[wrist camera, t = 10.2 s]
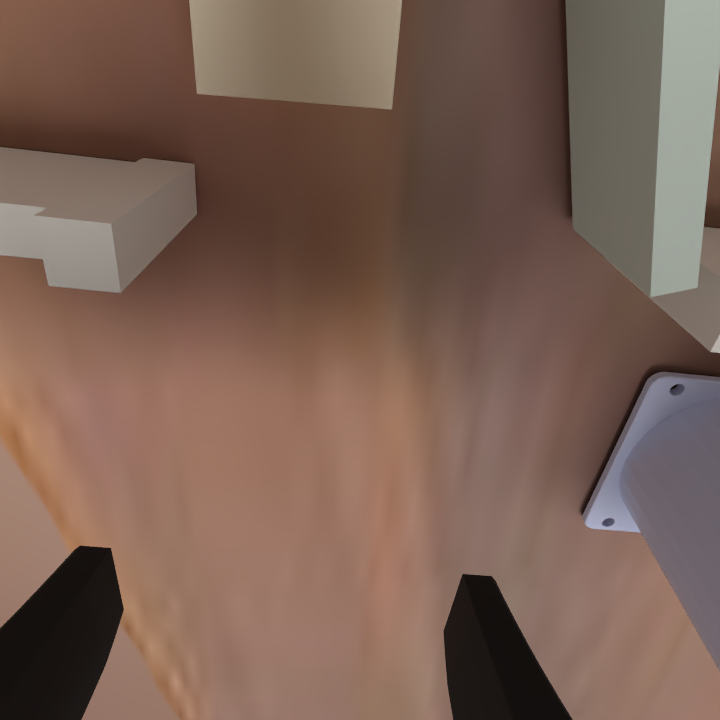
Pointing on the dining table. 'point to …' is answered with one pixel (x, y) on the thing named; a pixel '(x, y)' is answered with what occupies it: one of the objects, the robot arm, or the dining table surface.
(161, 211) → the wall frame
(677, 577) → the robot arm
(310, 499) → the dining table surface
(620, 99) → the door
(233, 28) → the birch block
